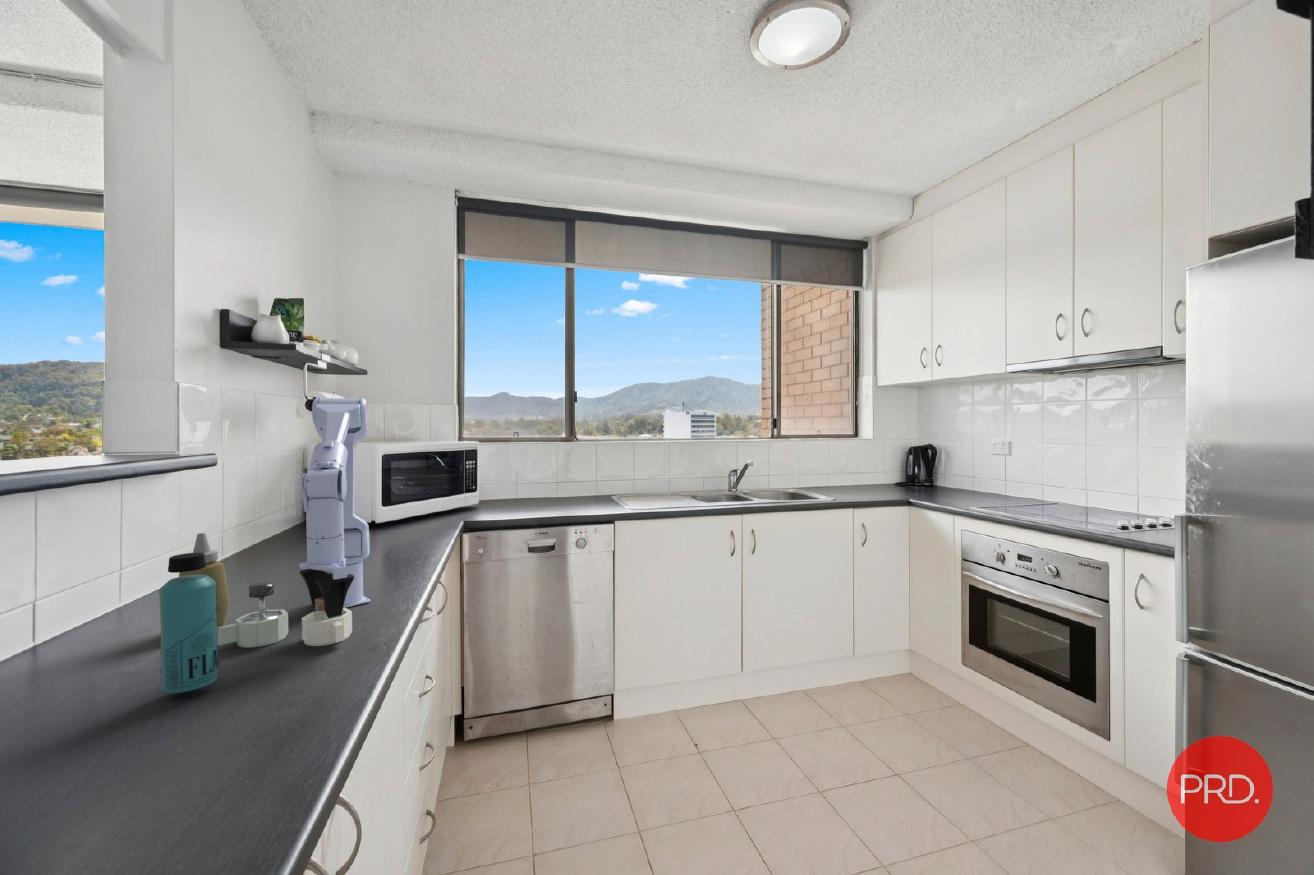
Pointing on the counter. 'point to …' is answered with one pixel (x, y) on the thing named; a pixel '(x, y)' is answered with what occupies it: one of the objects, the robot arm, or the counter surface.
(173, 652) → the beverage bottle
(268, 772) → the counter surface
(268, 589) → the sage press plunger
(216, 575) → the squeeze bottle
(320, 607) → the cream press plunger
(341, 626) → the cream press pot
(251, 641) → the sage press pot
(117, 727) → the counter surface
